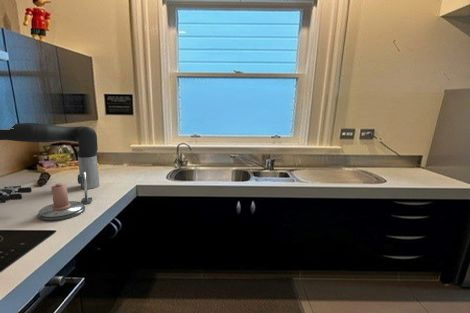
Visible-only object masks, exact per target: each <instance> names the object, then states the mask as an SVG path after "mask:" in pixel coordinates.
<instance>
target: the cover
mask: <svg viewBox="0 0 470 313" xmlns="http://www.w3.org/2000/svg"><path fill="white" fill-rule="evenodd" d="M67 186H68V185H67V184H64V183H56V184H55V185H52V186H50V187H51V188H50V189H51V194H52V195H51V196H52V204H54V205H53V206H52V210H54V211H61V210H66V209H68V208H70V207H71V205H70V203H69V202H68V201H69V196H68V195H69V193H68V187H67Z"/></svg>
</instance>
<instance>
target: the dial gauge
mask: <svg viewBox="0 0 470 313" xmlns="http://www.w3.org/2000/svg"><path fill="white" fill-rule="evenodd" d="M82 173H83V174H80V173H79V174H78V175H77V184H79V185H80V190H83V188H82V184H83V183H84V190H83V192H84V193H83V194H84V197H83V198H82V199H81V200H80V202H81V203H83V205H89V204H92V202H93V200H94V199H93V197H92V196H91V197H89V195H88V189H87V183H86V173H85V172H82Z"/></svg>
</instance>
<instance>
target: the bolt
mask: <svg viewBox="0 0 470 313" xmlns="http://www.w3.org/2000/svg"><path fill="white" fill-rule="evenodd" d="M51 176H52V175H51V174H50V172H48V171H42V172H41V173H40V174H39V177H38V179H37V181H36V182H37V183H36V184H37V186H39V187H43V186H45V185H47V183H48V181H50V178H51Z"/></svg>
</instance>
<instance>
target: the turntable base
mask: <svg viewBox="0 0 470 313" xmlns="http://www.w3.org/2000/svg"><path fill="white" fill-rule="evenodd" d="M83 206H84V207H83V209H82V210H81V211H79V212H77V213H74V214H71V215H68V216H63V217H56V218H45V217H42V216H40V215H39V212H38V213H37V218H38V219H39V220H40V221H42V220H43V221H44V222H58V221H59V222H60V221H63V220H64V221H65V220H69V219H72V218H75V217H79V216H80V215H81V213H82V214H83V213H84V212H85V211H86V205H85V204H83ZM43 221H42V222H43Z"/></svg>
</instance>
